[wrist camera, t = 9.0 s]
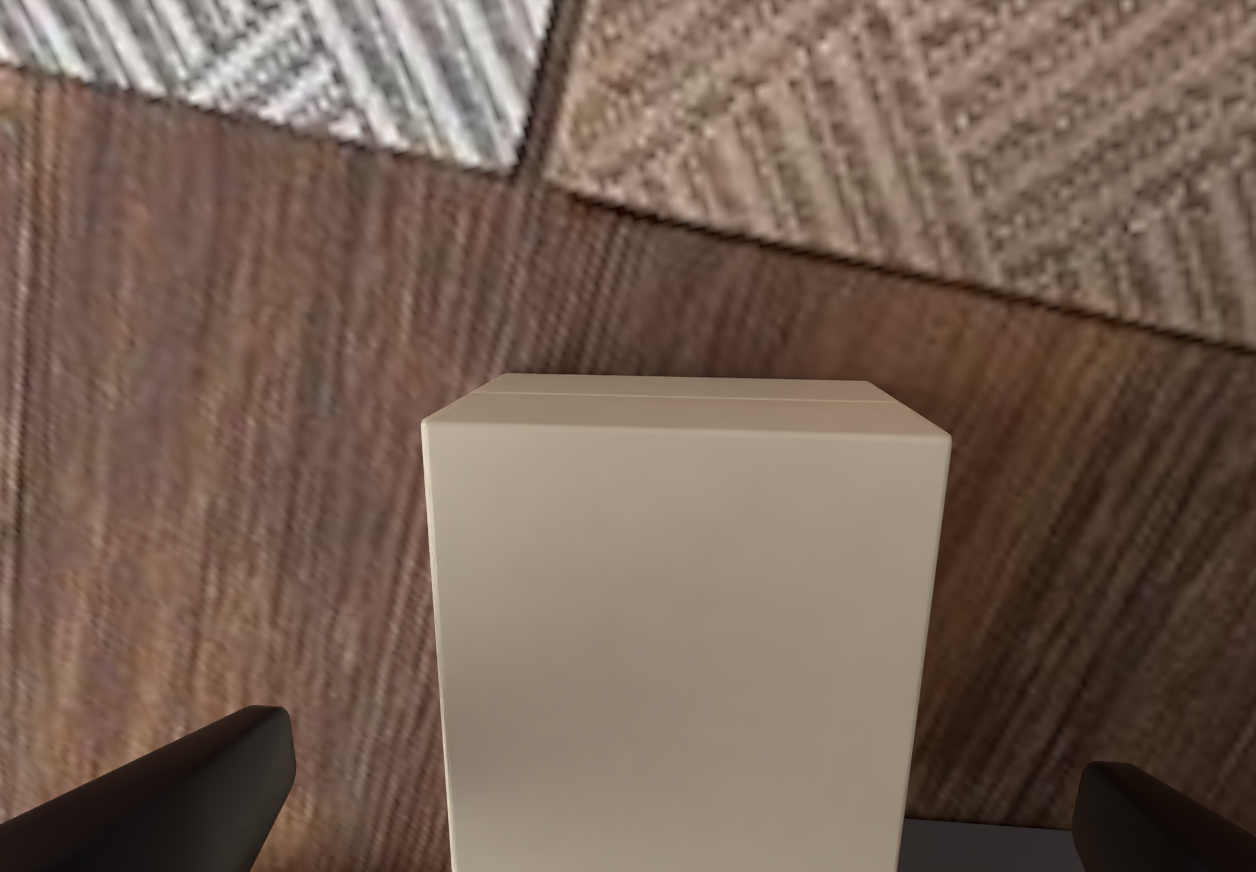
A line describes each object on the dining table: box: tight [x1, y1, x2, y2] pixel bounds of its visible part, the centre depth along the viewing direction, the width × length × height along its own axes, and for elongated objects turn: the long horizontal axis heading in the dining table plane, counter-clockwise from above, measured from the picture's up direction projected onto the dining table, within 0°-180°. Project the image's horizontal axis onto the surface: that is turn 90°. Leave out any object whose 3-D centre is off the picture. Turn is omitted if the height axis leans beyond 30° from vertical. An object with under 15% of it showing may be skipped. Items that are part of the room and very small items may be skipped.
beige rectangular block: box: [421, 373, 952, 872], centre depth 10 cm, size 6×8×4 cm
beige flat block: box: [424, 400, 952, 872], centre depth 8 cm, size 8×5×1 cm, turn 0°
